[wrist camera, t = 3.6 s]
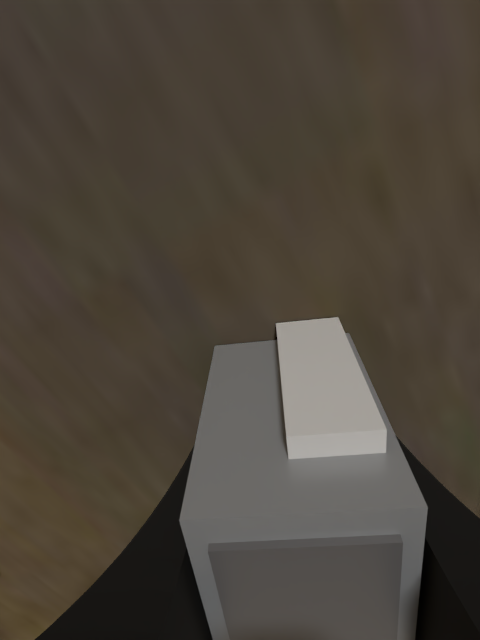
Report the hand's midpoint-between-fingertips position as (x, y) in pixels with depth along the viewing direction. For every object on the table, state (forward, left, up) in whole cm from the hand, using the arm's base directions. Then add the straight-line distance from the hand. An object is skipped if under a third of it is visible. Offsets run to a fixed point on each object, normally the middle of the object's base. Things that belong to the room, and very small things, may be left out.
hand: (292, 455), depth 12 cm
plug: (0, 0, -2) cm, 2 cm away
